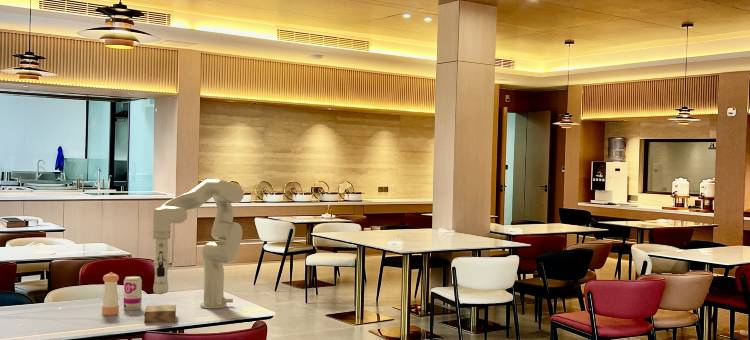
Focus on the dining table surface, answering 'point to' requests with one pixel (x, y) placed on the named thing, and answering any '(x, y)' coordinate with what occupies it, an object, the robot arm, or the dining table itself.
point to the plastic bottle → (161, 279)
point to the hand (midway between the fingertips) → (161, 275)
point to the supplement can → (132, 293)
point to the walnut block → (160, 314)
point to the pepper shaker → (110, 295)
